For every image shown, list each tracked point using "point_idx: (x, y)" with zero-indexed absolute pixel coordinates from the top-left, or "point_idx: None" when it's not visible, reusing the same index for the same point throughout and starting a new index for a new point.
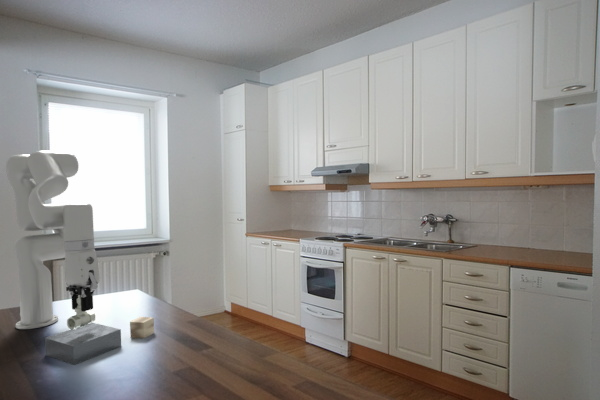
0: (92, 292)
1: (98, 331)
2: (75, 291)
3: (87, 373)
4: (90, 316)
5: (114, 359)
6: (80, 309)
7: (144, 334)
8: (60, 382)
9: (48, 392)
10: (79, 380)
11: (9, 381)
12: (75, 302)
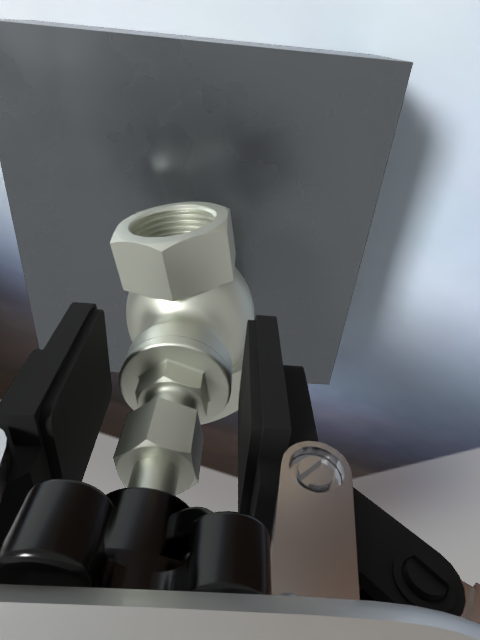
0: (395, 533)
1: (261, 175)
2: (3, 538)
3: (438, 353)
4: (233, 274)
5: (467, 222)
6: (219, 405)
7: None
8: (390, 418)
9: (407, 457)
10: (449, 392)
11: (210, 461)
12: (90, 430)
